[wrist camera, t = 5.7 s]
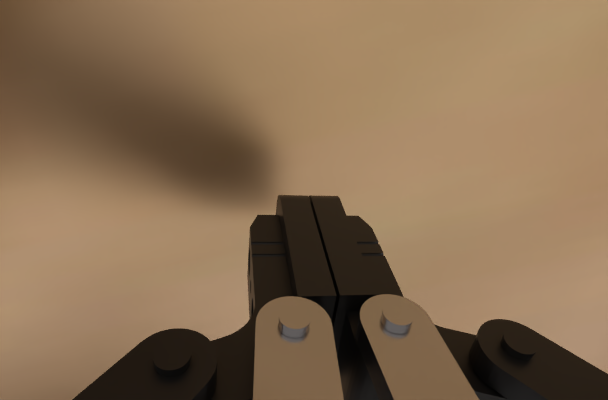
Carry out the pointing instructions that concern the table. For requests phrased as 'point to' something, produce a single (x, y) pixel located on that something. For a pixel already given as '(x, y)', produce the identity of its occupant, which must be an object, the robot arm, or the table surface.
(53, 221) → the table surface
